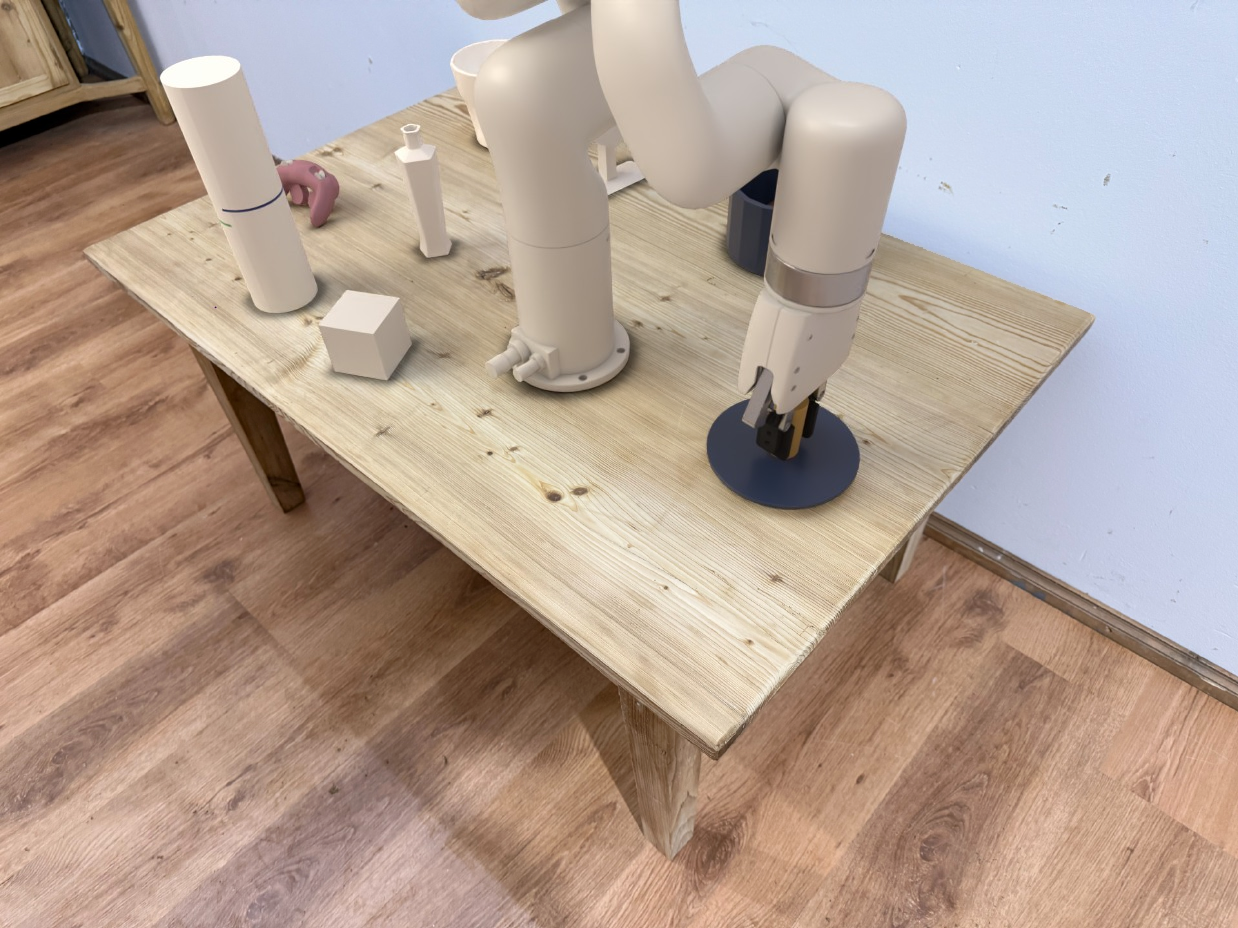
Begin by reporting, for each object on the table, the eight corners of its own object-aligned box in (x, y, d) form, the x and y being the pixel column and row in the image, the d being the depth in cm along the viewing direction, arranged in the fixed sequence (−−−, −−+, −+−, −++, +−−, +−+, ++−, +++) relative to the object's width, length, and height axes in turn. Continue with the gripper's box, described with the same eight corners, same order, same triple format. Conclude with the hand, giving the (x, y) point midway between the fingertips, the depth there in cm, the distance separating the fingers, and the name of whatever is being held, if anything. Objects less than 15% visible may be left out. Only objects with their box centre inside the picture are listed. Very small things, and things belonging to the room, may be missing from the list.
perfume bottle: (409, 255, 101) (380, 135, 90) (428, 236, 104) (402, 117, 93) (442, 263, 100) (417, 141, 89) (461, 243, 103) (438, 123, 92)
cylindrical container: (300, 316, 94) (215, 90, 76) (241, 309, 95) (144, 85, 77) (328, 279, 99) (254, 58, 80) (271, 273, 100) (186, 53, 81)
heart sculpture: (639, 155, 117) (637, 16, 103) (664, 169, 114) (665, 27, 101) (549, 196, 110) (535, 52, 97) (574, 211, 107) (563, 65, 94)
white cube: (361, 336, 91) (346, 289, 87) (412, 344, 90) (400, 297, 86) (334, 371, 87) (317, 325, 83) (387, 380, 86) (373, 333, 82)
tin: (791, 291, 94) (801, 224, 88) (705, 251, 100) (708, 185, 94) (852, 244, 100) (866, 178, 94) (767, 208, 106) (774, 144, 100)
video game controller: (342, 227, 109) (347, 171, 106) (314, 228, 105) (318, 170, 102) (289, 207, 113) (292, 153, 110) (260, 207, 109) (262, 151, 106)
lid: (800, 541, 70) (813, 485, 65) (675, 459, 77) (678, 402, 71) (886, 452, 77) (905, 395, 72) (765, 383, 83) (774, 326, 78)
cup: (452, 155, 118) (437, 74, 110) (476, 115, 126) (465, 37, 118) (539, 160, 116) (530, 78, 108) (558, 119, 125) (552, 40, 117)
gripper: (836, 202, 67) (801, 375, 81) (707, 295, 59) (692, 469, 73) (921, 238, 64) (870, 412, 77) (795, 342, 56) (763, 516, 70)
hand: (784, 439), depth 75 cm, fingers closed on lid, 2 cm apart
